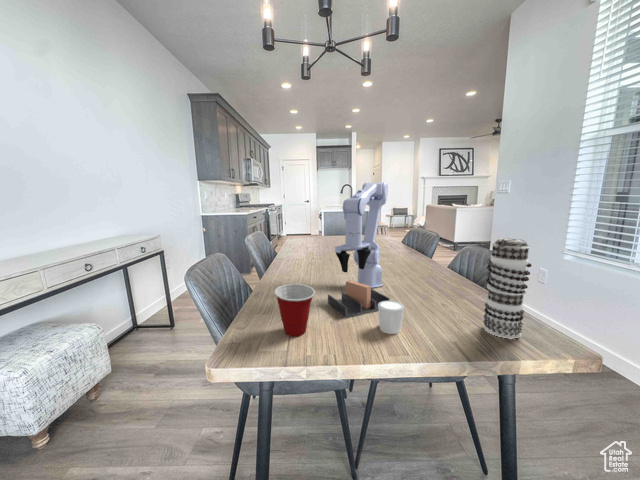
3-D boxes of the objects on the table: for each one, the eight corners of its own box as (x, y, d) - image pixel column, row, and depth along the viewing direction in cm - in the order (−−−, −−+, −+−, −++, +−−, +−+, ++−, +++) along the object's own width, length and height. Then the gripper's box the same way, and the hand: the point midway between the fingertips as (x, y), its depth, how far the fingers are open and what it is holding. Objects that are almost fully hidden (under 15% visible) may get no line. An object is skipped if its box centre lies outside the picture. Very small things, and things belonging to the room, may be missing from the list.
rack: (368, 296, 96) (368, 287, 95) (389, 308, 85) (389, 298, 84) (328, 303, 89) (327, 294, 88) (345, 318, 78) (345, 307, 77)
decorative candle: (496, 320, 75) (504, 235, 71) (531, 336, 67) (543, 240, 63) (473, 326, 72) (480, 238, 68) (507, 343, 63) (518, 243, 60)
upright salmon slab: (349, 299, 91) (349, 280, 89) (370, 306, 84) (370, 286, 83) (345, 300, 89) (345, 281, 88) (366, 308, 83) (367, 287, 82)
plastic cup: (300, 347, 63) (299, 300, 61) (267, 335, 69) (265, 292, 67) (323, 328, 72) (322, 287, 70) (292, 319, 78) (291, 280, 76)
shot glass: (403, 325, 73) (404, 301, 72) (402, 337, 67) (403, 311, 66) (378, 321, 76) (379, 298, 74) (375, 333, 69) (376, 308, 68)
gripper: (362, 230, 97) (361, 265, 99) (330, 233, 90) (330, 270, 92) (375, 232, 91) (374, 269, 93) (342, 235, 84) (341, 275, 86)
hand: (353, 270), depth 92 cm, fingers open, 7 cm apart
